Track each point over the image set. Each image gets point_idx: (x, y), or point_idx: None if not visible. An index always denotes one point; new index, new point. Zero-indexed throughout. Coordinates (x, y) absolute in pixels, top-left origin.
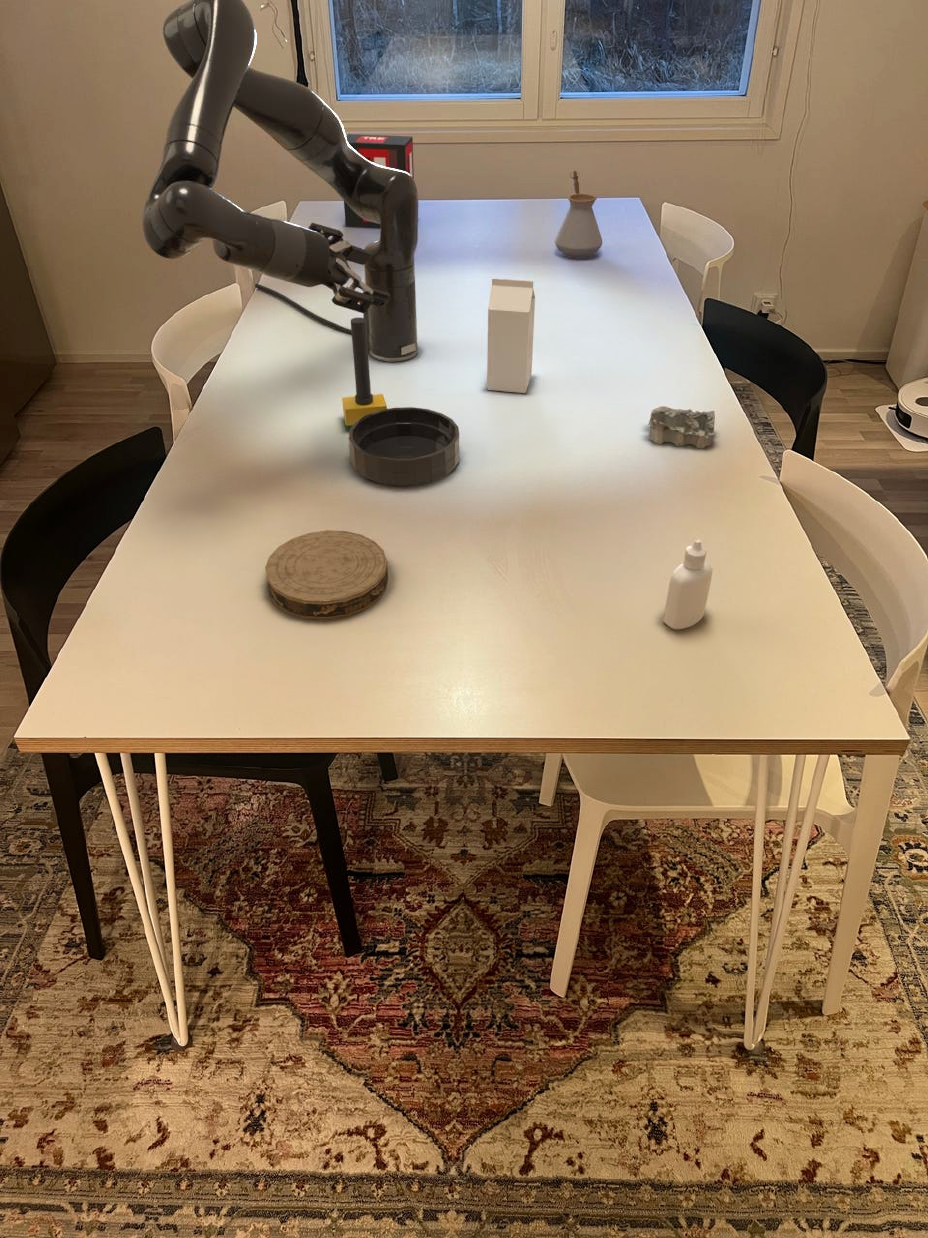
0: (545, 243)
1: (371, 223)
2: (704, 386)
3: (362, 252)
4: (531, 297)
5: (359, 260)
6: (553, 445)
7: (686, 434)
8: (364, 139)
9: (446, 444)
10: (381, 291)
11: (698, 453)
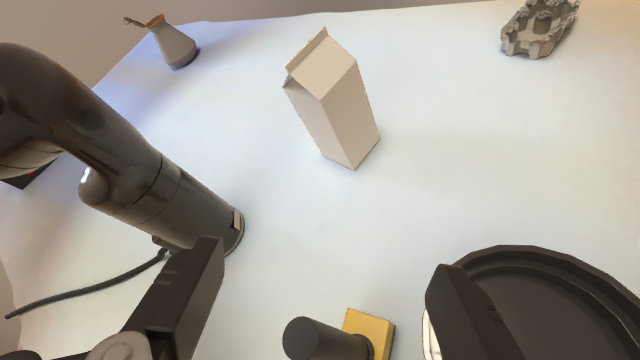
0: (159, 73)
1: (37, 170)
2: (432, 13)
3: (205, 273)
4: (339, 45)
5: (213, 294)
6: (524, 143)
7: (569, 21)
8: None
9: (508, 270)
10: (468, 301)
11: (583, 27)
